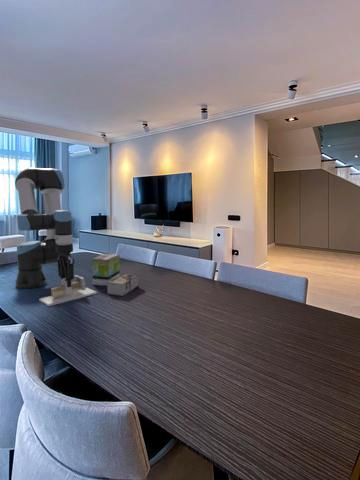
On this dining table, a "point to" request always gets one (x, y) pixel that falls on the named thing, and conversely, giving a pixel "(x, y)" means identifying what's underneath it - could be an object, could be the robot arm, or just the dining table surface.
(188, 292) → the dining table surface
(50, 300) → the cutting board
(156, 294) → the dining table surface
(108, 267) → the tea box
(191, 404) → the dining table surface
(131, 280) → the coffee box
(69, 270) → the robot arm
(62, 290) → the scraper
